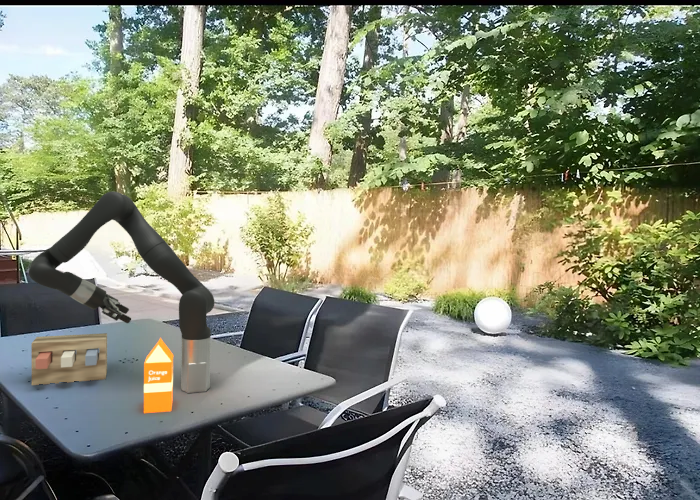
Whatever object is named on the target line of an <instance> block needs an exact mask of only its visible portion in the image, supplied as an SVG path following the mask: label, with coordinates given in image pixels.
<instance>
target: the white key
mask: <svg viewBox="0 0 700 500" xmlns="http://www.w3.org/2000/svg"><path fill="white" fill-rule="evenodd" d="M75 359H76V350H65V351H64V353H63V355H62V357H61V367H72V366H73V364H74V361H75Z"/></svg>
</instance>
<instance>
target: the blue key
mask: <svg viewBox="0 0 700 500" xmlns="http://www.w3.org/2000/svg"><path fill="white" fill-rule="evenodd" d="M98 355H99V348H96V349H88V350H87V353H86V356H85V366H89V365H96V364H97V360H98Z"/></svg>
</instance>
